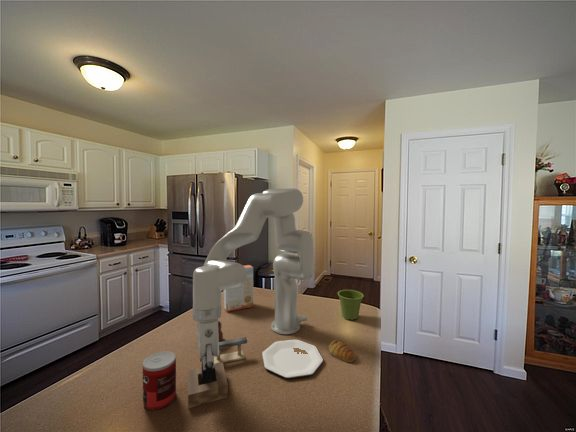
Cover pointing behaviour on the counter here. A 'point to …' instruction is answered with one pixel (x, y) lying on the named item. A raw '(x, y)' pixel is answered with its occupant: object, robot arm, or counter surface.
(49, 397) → the counter surface
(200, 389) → the block with square hole
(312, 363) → the plate
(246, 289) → the cracker box
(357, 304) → the plant pot
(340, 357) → the pastry
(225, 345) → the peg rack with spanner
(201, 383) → the pin
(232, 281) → the robot arm
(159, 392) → the canned food
